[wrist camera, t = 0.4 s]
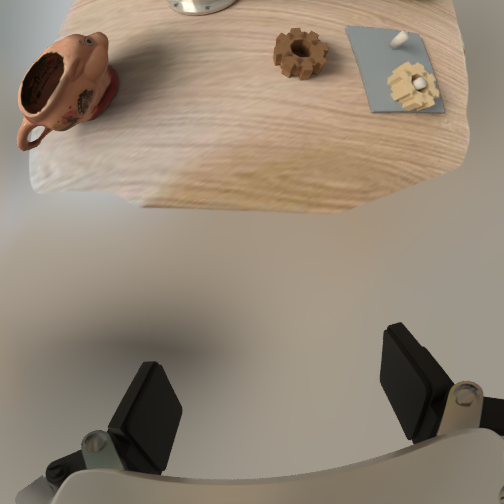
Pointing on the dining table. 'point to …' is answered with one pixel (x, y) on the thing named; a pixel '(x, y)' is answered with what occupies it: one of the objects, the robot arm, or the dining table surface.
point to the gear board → (395, 70)
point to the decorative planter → (66, 86)
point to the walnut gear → (304, 44)
